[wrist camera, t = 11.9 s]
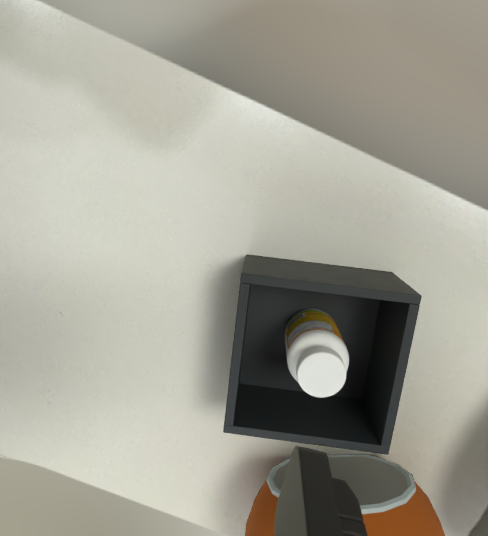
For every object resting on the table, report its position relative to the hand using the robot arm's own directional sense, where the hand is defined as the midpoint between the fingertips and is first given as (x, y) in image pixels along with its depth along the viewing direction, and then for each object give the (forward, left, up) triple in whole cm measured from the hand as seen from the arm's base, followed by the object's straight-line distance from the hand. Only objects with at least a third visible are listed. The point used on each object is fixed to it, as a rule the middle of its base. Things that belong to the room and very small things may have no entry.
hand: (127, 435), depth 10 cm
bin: (+7, +10, -34) cm, 36 cm away
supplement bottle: (+7, +10, -33) cm, 35 cm away
